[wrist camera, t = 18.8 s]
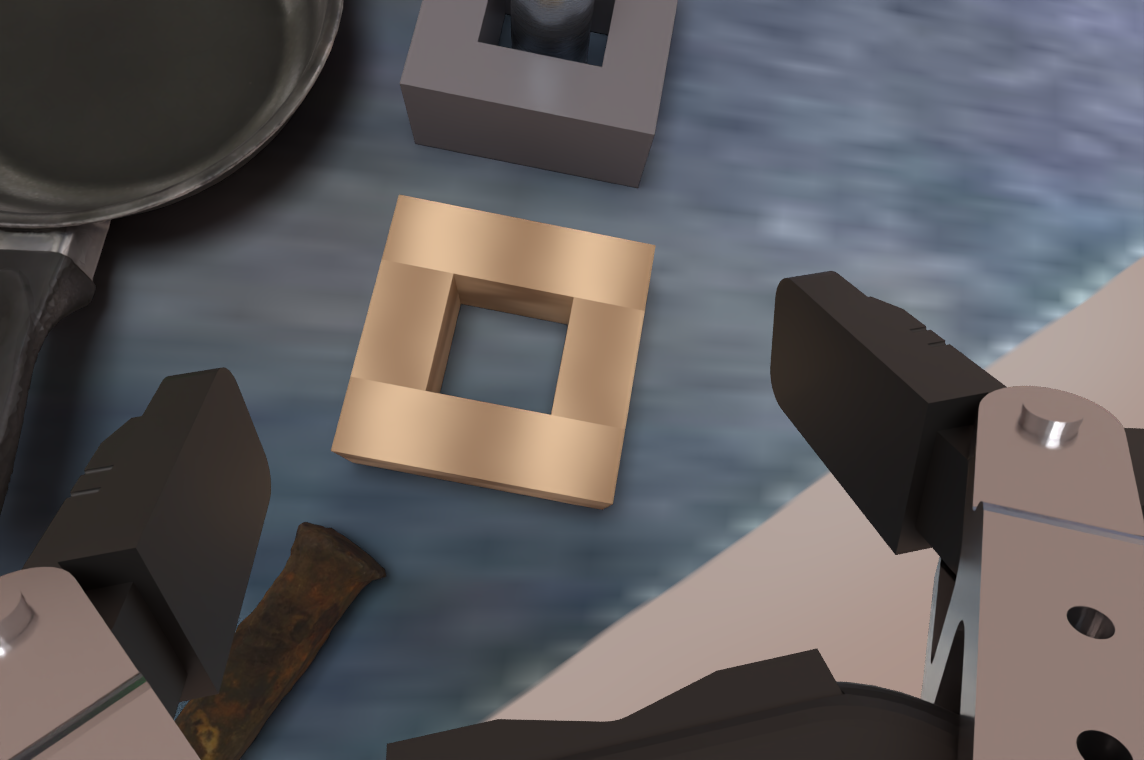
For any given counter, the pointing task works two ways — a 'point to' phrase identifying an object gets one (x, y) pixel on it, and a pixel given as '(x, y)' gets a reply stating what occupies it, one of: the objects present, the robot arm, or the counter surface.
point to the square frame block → (513, 285)
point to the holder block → (539, 89)
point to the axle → (552, 27)
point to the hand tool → (278, 641)
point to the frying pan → (125, 136)
